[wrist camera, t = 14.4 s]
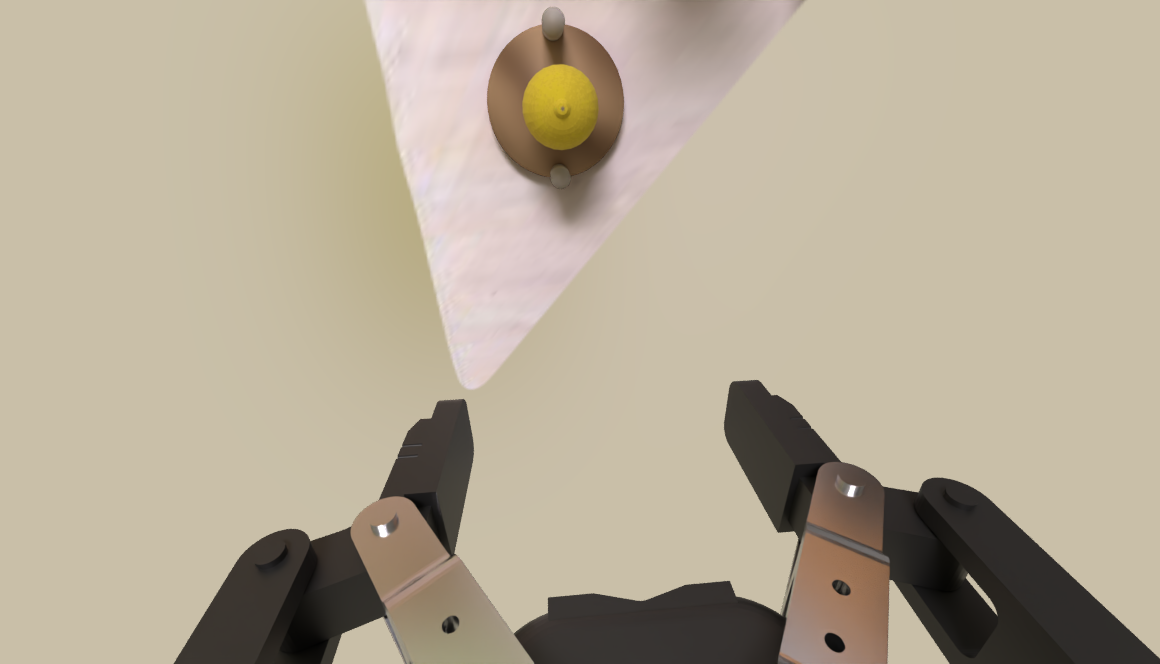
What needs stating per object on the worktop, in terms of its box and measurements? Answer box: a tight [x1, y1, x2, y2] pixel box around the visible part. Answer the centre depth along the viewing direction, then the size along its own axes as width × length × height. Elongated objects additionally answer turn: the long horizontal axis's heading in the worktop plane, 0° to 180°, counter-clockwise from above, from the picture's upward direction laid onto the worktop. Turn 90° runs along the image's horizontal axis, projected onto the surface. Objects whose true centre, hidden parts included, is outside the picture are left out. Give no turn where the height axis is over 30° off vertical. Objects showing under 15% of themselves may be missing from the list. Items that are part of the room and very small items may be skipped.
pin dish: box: [487, 7, 624, 189], centre depth 34 cm, size 11×11×4 cm
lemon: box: [522, 64, 599, 150], centre depth 32 cm, size 6×6×8 cm
